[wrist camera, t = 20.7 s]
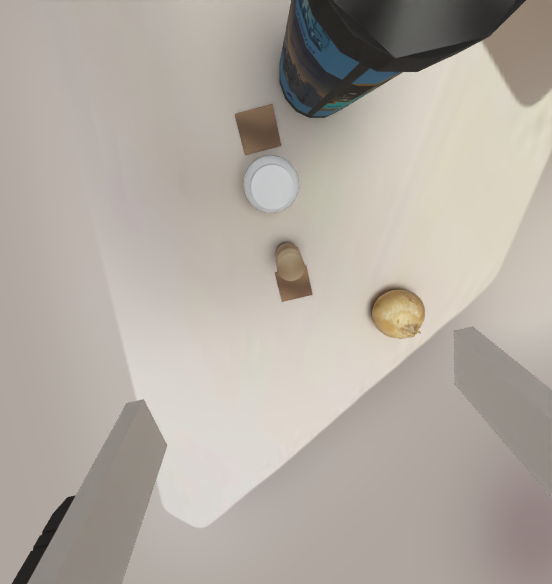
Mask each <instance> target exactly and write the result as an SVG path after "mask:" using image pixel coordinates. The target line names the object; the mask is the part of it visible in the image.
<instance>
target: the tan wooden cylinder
mask: <svg viewBox="0 0 552 584" xmlns="http://www.w3.org/2000/svg"><path fill="white" fill-rule="evenodd" d="M276 263H277V270H278V274H279V275H280V277H281V278H283V279H284V280H287V281H295V280H297V279H299V278H300V277H301V276H302V275H303V273H304V271H305V264H304V262H303V259H302V257H301V254H300V251H299V249H298V248H297V247H296V246H295V245H294V244H292V243H290V242H284V243H282V244H280V245H279V247H278V249H277V251H276Z"/></svg>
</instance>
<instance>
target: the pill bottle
mask: <svg viewBox="0 0 552 584" xmlns="http://www.w3.org/2000/svg"><path fill="white" fill-rule="evenodd" d="M298 188H299V181H298V176H297V173H296V171H295V169H294V167H293V166H292V165H291V164H290V163H289V162H288V161H287V160H285V159H284V158H282V157H279V156H274V155H268V156H263V157H261V158H259V159H257V160H255V161H254V162H253V163H252V164H251V165H250V167H249V168H248V170H247V172H246V174H245V178H244V191H245V194H246V197H247V199H248V200H249V202H250V203H251V204H252V205H253V206H254V207H255V208H256V209H258V210H260V211H262V212H266V213H277V212H280V211H283V210H284V209H286V208H287V207H289V206H290V205H291V204H292V202H293V201H294V199H295V198H296V195H297V192H298Z"/></svg>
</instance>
